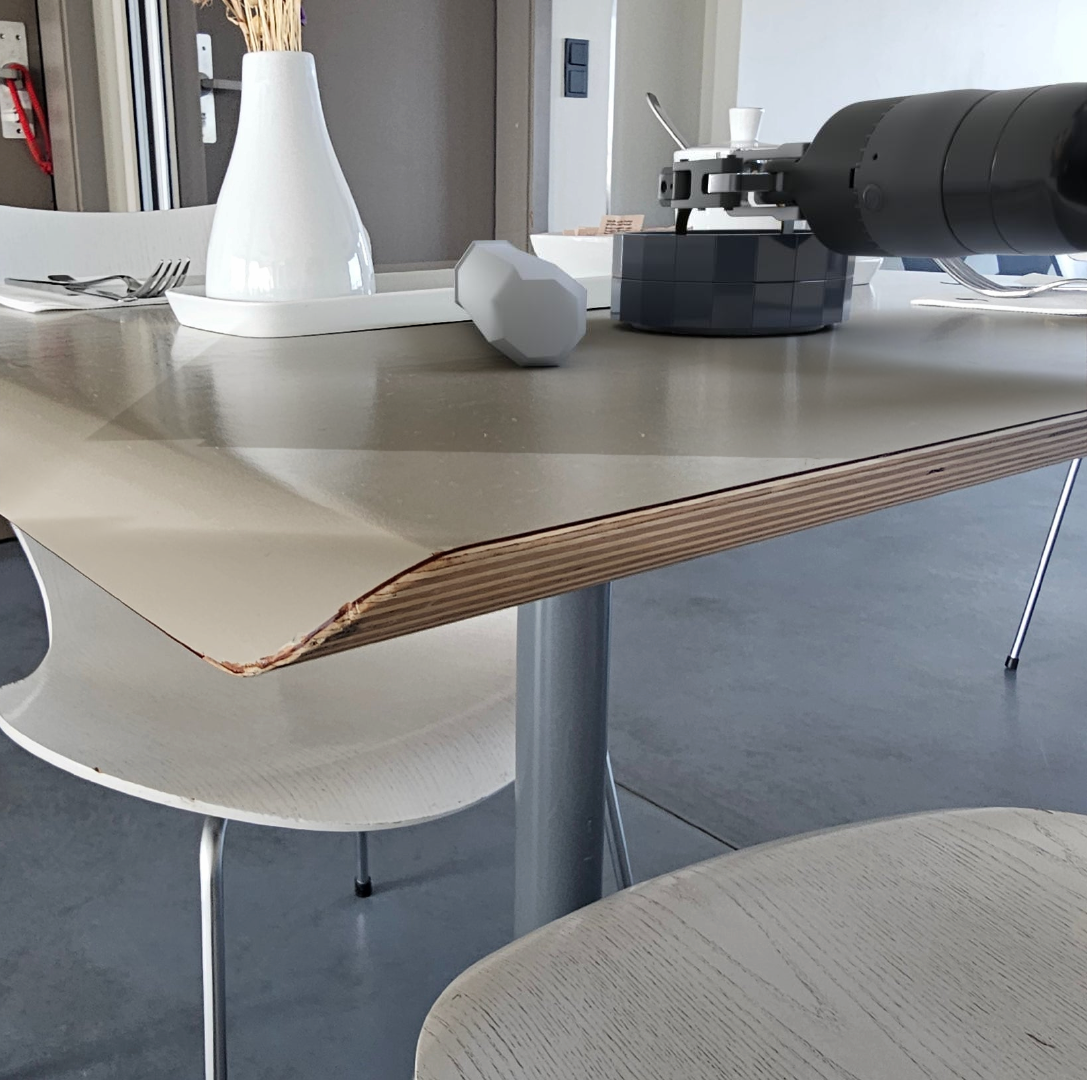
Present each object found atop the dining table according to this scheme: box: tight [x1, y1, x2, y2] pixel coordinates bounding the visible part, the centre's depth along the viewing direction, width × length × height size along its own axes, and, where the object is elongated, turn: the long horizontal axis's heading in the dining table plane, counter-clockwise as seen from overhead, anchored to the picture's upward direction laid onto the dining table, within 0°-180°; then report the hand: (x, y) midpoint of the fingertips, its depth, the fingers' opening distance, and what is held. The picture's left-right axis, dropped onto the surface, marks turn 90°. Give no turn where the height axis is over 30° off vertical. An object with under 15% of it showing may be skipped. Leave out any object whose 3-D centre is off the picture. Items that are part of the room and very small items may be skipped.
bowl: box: [609, 228, 857, 337], centre depth 71 cm, size 14×14×6 cm
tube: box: [453, 239, 588, 367], centre depth 65 cm, size 5×5×25 cm
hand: (712, 186), depth 71 cm, fingers closed on ring, 6 cm apart
